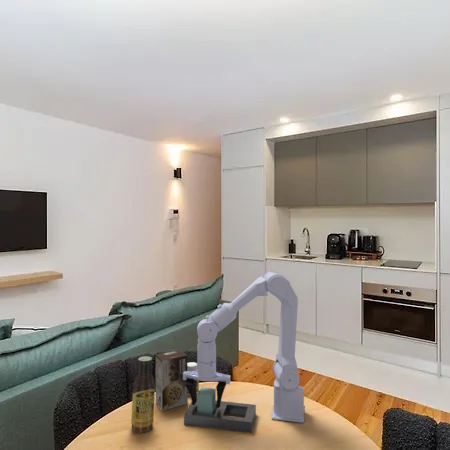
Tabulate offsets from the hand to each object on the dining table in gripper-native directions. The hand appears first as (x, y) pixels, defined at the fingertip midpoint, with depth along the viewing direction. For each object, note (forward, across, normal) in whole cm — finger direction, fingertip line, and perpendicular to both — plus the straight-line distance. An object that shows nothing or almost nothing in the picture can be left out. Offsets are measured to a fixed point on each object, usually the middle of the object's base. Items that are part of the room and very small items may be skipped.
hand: (206, 404), depth 105 cm
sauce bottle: (+4, +16, +9) cm, 19 cm away
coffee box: (+4, +14, -6) cm, 15 cm away
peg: (+4, 0, 0) cm, 4 cm away
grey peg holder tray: (+4, -4, 0) cm, 6 cm away
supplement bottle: (+4, +10, -15) cm, 18 cm away
